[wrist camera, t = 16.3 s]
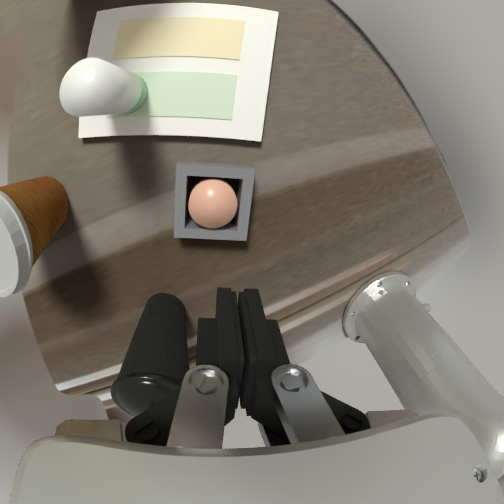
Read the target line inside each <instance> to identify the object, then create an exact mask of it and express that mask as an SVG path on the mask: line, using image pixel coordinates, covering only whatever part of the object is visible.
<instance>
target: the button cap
mask: <svg viewBox="0 0 504 504" xmlns="http://www.w3.org/2000/svg"><path fill="white" fill-rule="evenodd" d="M188 208H189V212H190V215H191V217H192V218H193V219H194V221H195V222H196V223H198V224H199V225H201V226H203V227H206V228H219V227H222V226H224V225H226V224H227V223H229V222H230V221H231V220H232V219H233V217H234V215H235V213H236V211H237V198H236V195H235V193H234V190H233V188H232V186H231V185H230V184H229V183H228V182H227V181H226V180H224V179H223V178H220V177H206V178H203V179H201V180H200V181H198V182H197V183H196V184H195V185H194V187H193V188H192V191H191V194H190V198H189V203H188Z"/></svg>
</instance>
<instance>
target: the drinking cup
mask: <svg viewBox="0 0 504 504" xmlns="http://www.w3.org/2000/svg"><path fill="white" fill-rule="evenodd" d="M189 370H190V368H189V358H188V347H187V336H186V323H185V309H184V306H183V304H182V302H181V301H180V300H179V299H178V298H177V297H175V296H173V295H170V294H166V293H160V294H156V295H154V296H152V297H151V298H150V299H149V300H148V301H147V304H146V306H145V308H144V311H143V313H142V315H141V318H140V320H139V323H138V325H137V328H136V330H135V333H134V335H133V338H132V340H131V343H130V346H129V348H128V351H127V353H126V356H125V359H124V361H123V364H122V367H121V370H120V373H119V375H118V378H117V379H116V380H115V381H114V382H113V384H112V387H111V396H112V399H113V401H114V402H115V403H116V405H117V406H118V407H120V408H121V409H122V410H123V411H125V412H126V413H128V414H130V415H132V416H134V417H135V416H137V415H139V414H140V413H142V412H143V411H145V410H147V409H148V408H150V407H151V406H153V405H155V404H156V403H158V402H159V401H161V400H162V399H164V398H166V397H167V396H169V395H170V394H172V393H173V392H175V391H176V390H178V389H179V388H181V387H182V383H183V379H184V376H185V374H186V372H187V371H189Z"/></svg>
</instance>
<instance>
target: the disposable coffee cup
mask: <svg viewBox="0 0 504 504" xmlns="http://www.w3.org/2000/svg"><path fill="white" fill-rule="evenodd" d="M68 212H69V201H68V196H67V194H66V191H65V189H64V188H63V186H62V185H61V184H60V182H58V181H57V180H56V179H54V178H52V177H47V176H44V177H40V178H35V179H30V180H26V181H22V182H18V183H13V184H10V185H6V186H3V187H0V297H6V296H8V295H10V294H14V293H17V292H19V291H20V290H22V289H23V288H24V287H25V285H26V283H27V282H28V280H29V277H30V274H31V269H32V267H33V265H34V264H35V262H36V261H37V259H38V258H39V256H40V255H41V254H42V252H43V250H44V249H45V248H46V246H47V245H48V243H49V242H50V241H51V239H52V238H53V237H54V235H55V234H56V233H57V231H58V230H59V229H60V227H61V226H62V225H63V224H64V222H65V221H66V219H67V216H68Z"/></svg>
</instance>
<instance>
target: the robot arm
mask: <svg viewBox="0 0 504 504" xmlns="http://www.w3.org/2000/svg"><path fill="white" fill-rule="evenodd" d="M415 296H416V289H415V285H414V283H413V281H412V280H411V279H410V278H409V277H408V276H407V275H405V274H404V273H401V272H387V273H383V274H381V275H378V276H376V277H375V278H373V279H371V280H370V281H368V282H367V283H366V284H364V285H363V286H362V287H361V288H360V289H359V290H358V291H357V292H356V293H355V295H354V296H353V297H352V299H351V300H350V302H349V304H348V305H347V308H346V310H345V312H344V317H343V326H344V330H345V332H346V333H347V335H348V336H349V337H350V339H352V340H353V341H356V342H359V343H366V345H367V347H368V348H369V350H370V352H371V353H372V355H373V357H374V358H375V360H376V361H377V363H378V365H379V366H380V368H381V369H382V371H383V373H384V375H385V376H386V378H387V380H388V381H389V383H390V385H391V386H392V388H393V390H394V391H395V393H396V395H397V397H398V398H399V400H400V401H401V404H402V405H403V407H404V409H405V410H391V411H368V412H367V413H366V414H364V413H362V412H361V411H359V410H358V409H355V408H353V407H351V406H349V405H347V404H345V403H343V402H341V401H339V400H337V399H335V398H333V397H332V396H330V395H328V394H326V393H324V392H322V391H320V390H319V388H318V386H317V384H316V383H315V381H314V379H313V377H312V376H311V374H310V373H309V372H308V371H307V370H306V369H304V368H303V367H301V366H298V365H294V364H290V362H289V358H288V355H287V352H286V349H285V345H284V342H283V339H282V336H281V332H280V329H279V326H278V323H277V321H276V320H266V318H265V314H264V310H263V306H262V302H261V299H260V295H259V291H258V289H244V292H239V297H238V305H237V298H236V292H233V291H231V288H220V287H217V300H216V317H215V318H198V330H197V352H196V366H195V367H193V368H191V369H190V370H189V371H187V372H186V374H185V376H184V379H183V383H182V387H181V388H179V389H178V390H176V391H175V392H173V393H172V394H170V395H169V396H167V397H166V398H164V399H162V400H161V401H159V402H158V403H156V404H155V405H153V406H151V407H150V408H148V409H147V410H145V411H143V412H142V413H140V414H139V415H137V416H135V417H134V418H132V419H131V420H130V421H129V422H120V420H72V419H71V420H65V421H63V422H61V423H60V424H59V425H58V426H57V428H56V432H55V436H47V437H43V438H40V439H37V440H35V441H33V442H32V443H31V444H30V445H29V446H28V447H27V448H26V450H25V452H24V453H23V455H22V457H21V459H20V462H19V464H18V467H17V470H16V473H15V477H14V481H13V485H12V489H11V494H10V500H9V504H504V397H503V396H502V395H500V394H499V393H498V391H496V390H495V388H494V387H493V386H492V385H491V384H490V383H489V382H488V381H487V380H486V379H485V377H484V376H483V375H482V374H481V373H480V372H479V370H478V369H477V368H476V367H475V366H474V365H473V363H472V362H471V361H470V360H469V358H468V357H467V356H466V355H465V354H464V353H463V351H462V350H461V349H460V348H459V347H458V345H457V344H456V343H455V342H454V341H453V340H452V338H451V337H450V336H449V335H448V334H447V333H446V332H445V330H444V329H443V328H442V327H441V326H440V325H439V324H438V323H437V322H436V321H435V319H434V318H433V317H432V316H431V315H430V314H429V313H428V312H429V311H430V310H431V306H430V304H421V303H420V302H419V301H418V299H417V298H416V297H415ZM239 397H240V405H241V408H243V409H244V408H245V409H246V413H247V416H251V418H253V419H254V420H256V421H257V422H258V425H259V430H260V432H261V435H262V438H263V440H264V443H265V446H266V447H258V448H237V449H222V444H223V435H224V426H225V425H226V424H228V423H229V422H230V421H231V420H232V419H233V418H234V414H235V409H237V407H238V401H239Z"/></svg>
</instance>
